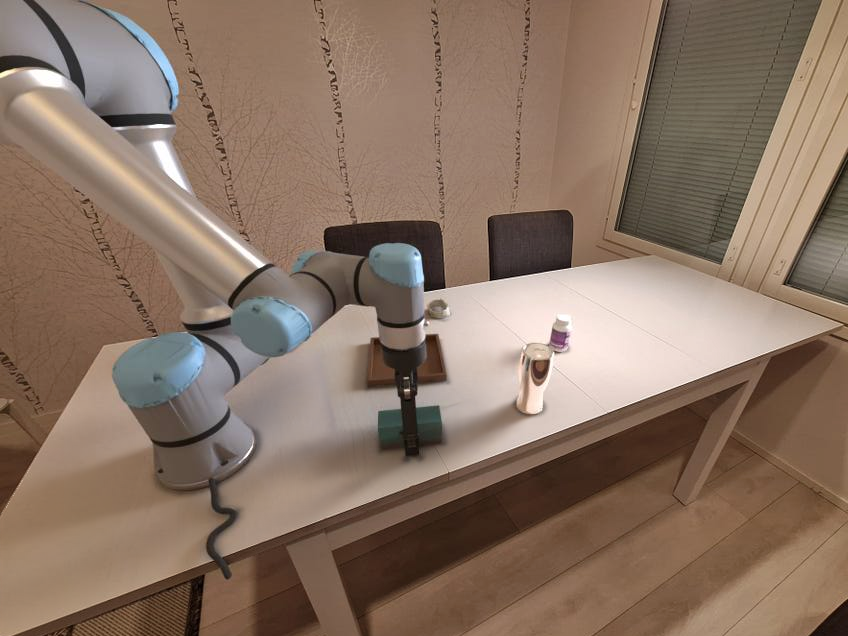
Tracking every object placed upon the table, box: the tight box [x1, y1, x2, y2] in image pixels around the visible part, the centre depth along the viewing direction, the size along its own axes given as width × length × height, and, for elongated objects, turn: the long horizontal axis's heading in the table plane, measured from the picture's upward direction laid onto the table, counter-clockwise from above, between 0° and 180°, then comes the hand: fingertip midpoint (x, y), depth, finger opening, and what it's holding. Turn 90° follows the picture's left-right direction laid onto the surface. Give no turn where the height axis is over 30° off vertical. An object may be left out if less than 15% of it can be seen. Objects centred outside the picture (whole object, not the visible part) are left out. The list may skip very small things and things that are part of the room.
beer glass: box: [515, 342, 555, 415], centre depth 81 cm, size 7×7×15 cm
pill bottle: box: [548, 314, 573, 353], centre depth 104 cm, size 5×5×10 cm
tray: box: [366, 333, 448, 388], centre depth 96 cm, size 20×19×2 cm
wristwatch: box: [426, 298, 451, 319], centre depth 118 cm, size 9×6×5 cm
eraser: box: [377, 405, 443, 451], centre depth 73 cm, size 5×12×6 cm, turn 101°
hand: (411, 434), depth 74 cm, fingers open, 10 cm apart
